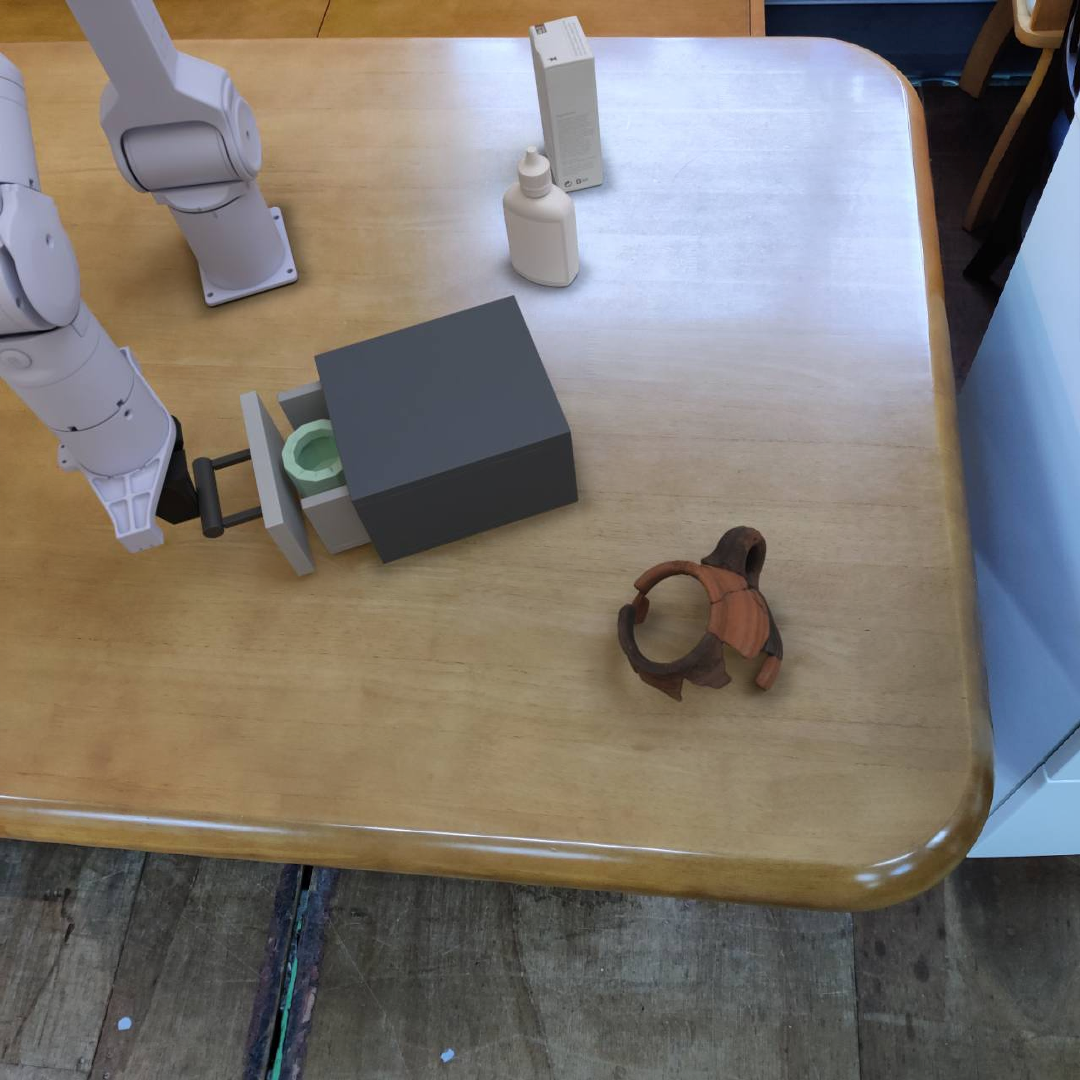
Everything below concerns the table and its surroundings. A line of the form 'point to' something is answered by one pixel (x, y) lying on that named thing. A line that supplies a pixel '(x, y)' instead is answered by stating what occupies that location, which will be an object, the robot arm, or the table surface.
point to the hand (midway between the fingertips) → (185, 513)
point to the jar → (313, 459)
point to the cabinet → (447, 429)
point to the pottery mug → (712, 617)
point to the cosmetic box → (567, 102)
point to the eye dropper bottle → (541, 225)
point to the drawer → (280, 484)
